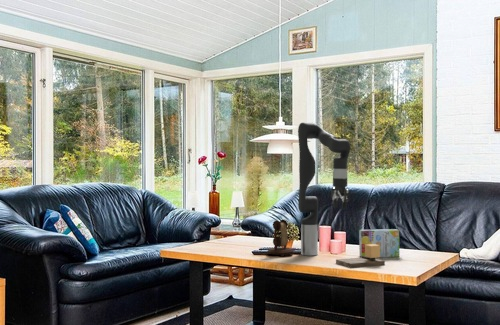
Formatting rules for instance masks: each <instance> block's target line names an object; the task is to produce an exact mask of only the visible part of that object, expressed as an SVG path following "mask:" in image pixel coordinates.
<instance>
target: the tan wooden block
mask: <svg viewBox="0 0 500 325" xmlns="http://www.w3.org/2000/svg"><path fill="white" fill-rule="evenodd" d="M365 257H369V258H375V259H377V258H381V257H380V245H376V244H368V245H365Z"/></svg>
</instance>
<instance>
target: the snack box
mask: <svg viewBox="0 0 500 325" xmlns="http://www.w3.org/2000/svg"><path fill="white" fill-rule="evenodd" d="M358 235H359V236H358V240H359V241H358V242H359V243H358V244H359V256H360V257H361V256H365V245H368V244H376V245H380V257H379V258H398V257H400V230H399V229H398V228H397V229H395V228H391V229H390V228H389V229H388V228H387V229H386V228H385V229H383V228H382V229H379V228H378V229H359V232H358Z"/></svg>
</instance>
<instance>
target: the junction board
mask: <svg viewBox="0 0 500 325" xmlns="http://www.w3.org/2000/svg"><path fill="white" fill-rule="evenodd" d="M385 262H386V261H385V260H382V259H379V258H369V257H365V256H360V257H351V258H341V259H340V258H339V259H338V258H337V259H335V264H337V265H340V266H342V267H343V266H344V267H348V268H350V269H351V268H364V267H376V266H385Z"/></svg>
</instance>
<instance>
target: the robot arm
mask: <svg viewBox="0 0 500 325" xmlns="http://www.w3.org/2000/svg"><path fill="white" fill-rule="evenodd" d="M297 138H298V147H299V148H298V150H299V156H298V157H299V158H298V159H299V160H298V161H299V162H298V163H299V166H298V168H299V169H298V172H299V174H298V175H299V186H298V187H299V188H298V201H297V202H298V205H297V206H298V210H299V211H298V212H300V213H310V214H309V215H308V216H305V217H304V218H302V219H301V221H300V223H301V228H300V232H301V236H300V255H302V256H317V255H319V253H318V250H319V249H318V246H319V244H318V239H319V238H318V236H319V235H318V220H319V219H318V217H319V199H318V197H317V196H313V195H309V196H307V195H306V194H307V190H308V188H309V185H310V184H311V182H312V181H313V179H314V177H315V175H316V160H315V157H314V156H313V154H312V152H311V150H310V148H309V145H308V140H312V139H313V140H314V139H316V140H319V142H320V144H322V145H323V146H324V147H326V148H328V149H329V150H330V151H331V152H332V153H335V154H339V153H340V154H339V156H338V157H337V156H336V157H334V158H333V165H332V166H333V170H332V187H331V188H330V200H332V202H333V203H332V204H333V208H334V209H336V208H337V209H338V207H339V206H338V203H339V201H338V199H339V198H340V199H341V201H342V202H341V203H342V204H341V205H342V210H347V209H348V208H347V207H348V201H349V202H350V200H351V198H350V197H351V196H350V193H351V192H350V189H348V188H346V187H348V159H349V155H350V151H351V143H350V141H349V140H348V139H345V138H344V139H341V138H340V139H338V138H337V136H336V135H333V134H331V133H330V132H327V131H326V130H324V129H323V128H321V126H319V125H318V124H317V123H315V122H301V123H299V125H298V128H297Z"/></svg>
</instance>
